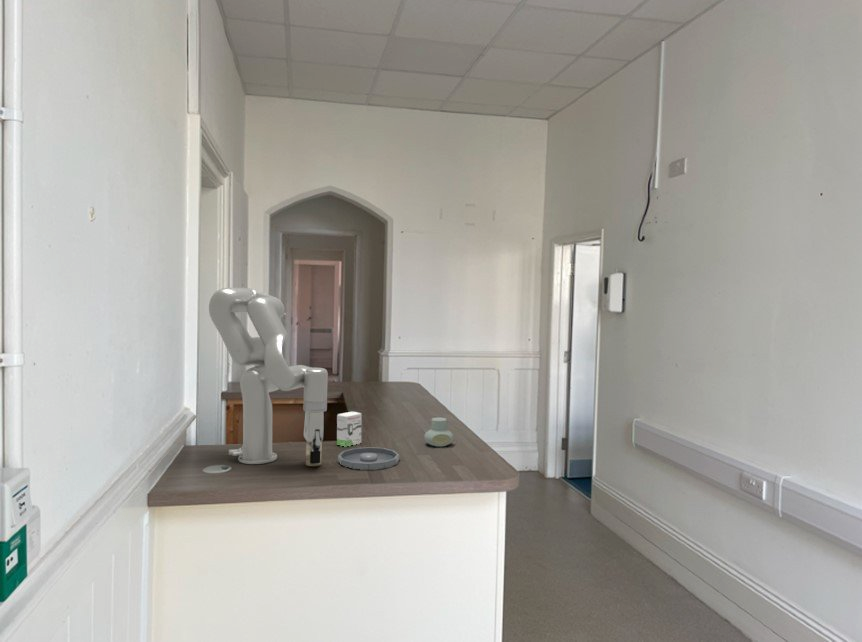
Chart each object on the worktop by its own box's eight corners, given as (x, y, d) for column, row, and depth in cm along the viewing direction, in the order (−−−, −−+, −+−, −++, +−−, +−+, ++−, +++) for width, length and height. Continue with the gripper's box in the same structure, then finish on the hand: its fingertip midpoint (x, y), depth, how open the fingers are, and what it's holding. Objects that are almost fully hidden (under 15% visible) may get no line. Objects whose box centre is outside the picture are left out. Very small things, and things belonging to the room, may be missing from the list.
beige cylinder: (307, 466, 189) (307, 445, 188) (304, 462, 193) (305, 441, 193) (322, 465, 190) (323, 444, 190) (319, 461, 195) (320, 440, 195)
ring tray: (346, 472, 185) (346, 465, 185) (333, 456, 204) (333, 450, 204) (406, 466, 193) (406, 460, 192) (388, 451, 211) (388, 445, 211)
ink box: (345, 447, 215) (345, 416, 215) (336, 445, 218) (336, 414, 218) (361, 443, 222) (362, 412, 222) (352, 441, 225) (352, 411, 225)
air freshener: (426, 448, 216) (427, 421, 216) (422, 442, 225) (422, 417, 224) (455, 447, 219) (455, 420, 218) (450, 441, 227) (450, 416, 226)
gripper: (299, 401, 197) (298, 454, 198) (307, 411, 182) (306, 469, 183) (321, 400, 200) (320, 452, 201) (331, 410, 184) (330, 467, 185)
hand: (313, 460), depth 192 cm, fingers closed on beige cylinder, 4 cm apart
